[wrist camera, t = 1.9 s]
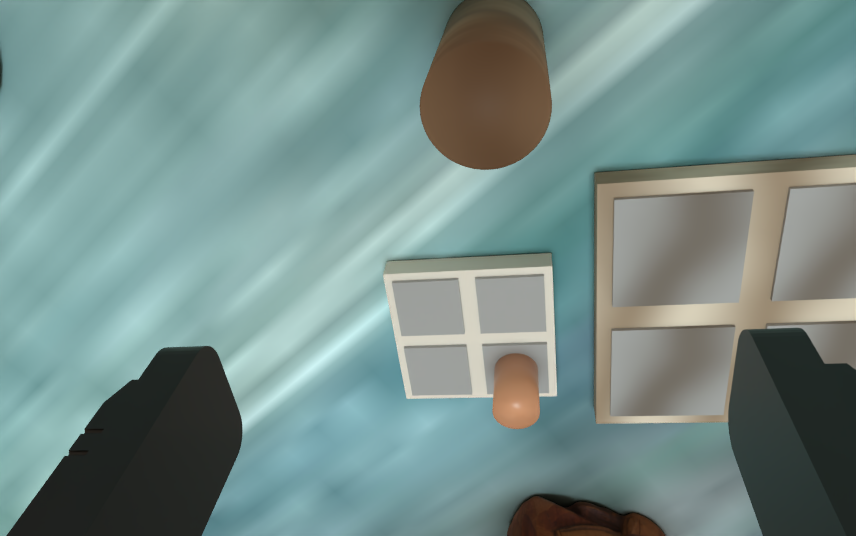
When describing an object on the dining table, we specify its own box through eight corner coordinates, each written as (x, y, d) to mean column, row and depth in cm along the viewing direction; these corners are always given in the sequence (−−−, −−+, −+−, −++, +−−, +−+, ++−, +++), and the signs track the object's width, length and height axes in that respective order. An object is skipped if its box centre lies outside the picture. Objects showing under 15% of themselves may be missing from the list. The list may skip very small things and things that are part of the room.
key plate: (409, 383, 38) (397, 442, 34) (386, 261, 33) (370, 313, 30) (555, 380, 36) (560, 442, 33) (551, 253, 32) (555, 306, 28)
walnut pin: (449, 95, 29) (428, 173, 22) (438, -4, 27) (411, 48, 20) (545, 87, 28) (553, 164, 21) (541, -16, 26) (549, 34, 19)
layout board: (594, 407, 37) (596, 426, 36) (594, 172, 30) (597, 186, 29) (873, 403, 35) (885, 423, 34) (947, 148, 27) (966, 161, 26)
